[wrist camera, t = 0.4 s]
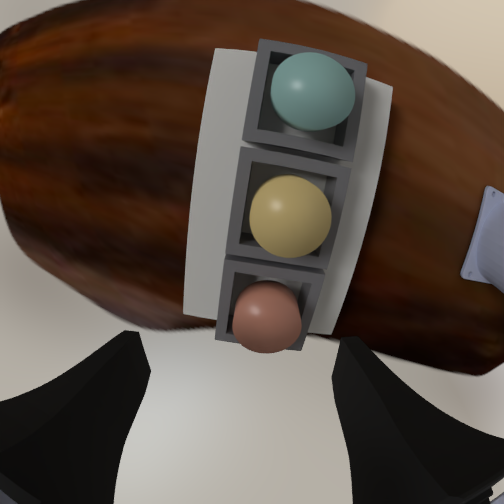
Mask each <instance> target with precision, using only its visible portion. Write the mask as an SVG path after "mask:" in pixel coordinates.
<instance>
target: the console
mask: <svg viewBox="0 0 504 504" xmlns="http://www.w3.org/2000/svg"><path fill="white" fill-rule="evenodd" d="M305 52H312V53H319V54H323V55H326V56H328V57H330V58H332V59H334V60H335V61H337V62H338V63H340V64H341V65H342V66H343V67H344V68H345V70H346V71H347V72H348V74H349V75H350V77H351V79H352V81H353V84H354V88H355V102H354V106H353V108H352V110H351V112H350V114H349V115H348V116H347V118H345V119H344V120H343V121H342V122H341V123H339V124H337V125H335V126H333V127H330V128H327V129H324V130H320V131H316V132H303V131H299V130H296V129H293V128H291V127H289V126H288V125H286V124H285V123H284V122H282V121H281V120H280V119H279V117H278V116H277V115H276V113H275V112H274V110H273V107H272V104H271V100H270V92H271V85H272V79H273V76H274V73H275V71H276V69H277V68H278V66H279V65H280V64H281V63H282V62H283V61H284V60H286V59H287V58H289V57H291V56H293V55H296V54H299V53H305ZM366 72H367V64H366V63H363V62H360V61H357V60H354V59H351V58H347V57H344V56H341V55H337V54H333V53H330V52H326V51H322V50H318V49H314V48H309V47H305V46H300V45H295V44H290V43H284V42H278V41H272V40H265V39H260V40H259V45H258V50H257V52H252V51H243V50H233V49H218V48H215V53H214V58H213V62H212V67H211V72H210V77H209V82H208V87H207V93H206V98H205V104H204V110H203V116H202V122H201V128H200V135H199V142H198V148H197V156H196V163H195V171H194V179H193V188H192V197H191V206H190V216H189V227H188V239H187V252H186V267H185V285H184V308H183V314H187V315H192V316H198V317H203V318H209V319H215V320H217V324H216V333H215V340H221V341H227V342H233V343H239V342H238V341H237V339H236V338H235V336H234V333H233V328H232V325H233V318H234V312H235V305H236V300H237V298H238V295H239V294H240V292H241V291H242V290H243V289H244V288H245V287H247V286H248V285H250V284H252V283H254V282H257V281H262V280H273V281H277V282H280V283H282V284H284V285H286V286H287V287H289V288H290V289H291V290H292V292H293V293H294V295H295V297H296V299H297V303H298V308H299V313H300V318H301V324H302V327H301V332H300V335H299V337H298V338H297V340H296V341H295V342H294V343H293V344H292V345H291V346H289V347H288V348H286V350H297V351H301V350H302V347H303V344H304V341H305V338H306V335H307V332H309V333H319V334H330V335H331V334H332V331H333V329H334V326H335V324H336V321H337V318H338V316H339V313H340V310H341V307H342V305H343V302H344V299H345V296H346V293H347V290H348V287H349V284H350V281H351V278H352V275H353V272H354V269H355V266H356V262H357V259H358V256H359V252H360V249H361V246H362V242H363V239H364V235H365V231H366V228H367V224H368V220H369V216H370V212H371V208H372V204H373V200H374V196H375V191H376V187H377V182H378V178H379V173H380V168H381V163H382V158H383V152H384V147H385V141H386V135H387V128H388V122H389V114H390V107H391V98H392V89H393V87H391V86H389V85H386V84H383V83H381V82H378V81H375V80H373V79H370V78H367V77H366ZM281 174H293V175H297V176H300V177H303V178H304V179H306V180H308V181H309V182H311V183H312V184H314V185H315V186H316V187H318V188H319V189H320V190H321V191H322V192H323V194H324V195H325V196H326V198H327V200H328V202H329V205H330V209H331V216H332V217H331V226H330V230H329V232H328V235H327V237H326V238H325V240H324V241H323V242H322V244H321V245H320V246H319V247H318V248H316V249H315V250H314V251H312V252H311V253H309V254H306V255H304V256H301V257H296V258H284V257H279V256H276V255H273V254H271V253H269V252H268V251H266V250H265V249H264V248H263V247H261V246H260V244H259V243H258V242H257V241H256V239H255V238H254V236H253V233H252V231H251V227H250V210H251V204H252V200H253V197H254V194H255V193H256V191H257V189H258V188H259V187H260V186H261V185H262V183H264V182H265V181H266V180H268V179H269V178H271V177H274V176H277V175H281Z"/></svg>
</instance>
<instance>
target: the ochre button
mask: <svg viewBox="0 0 504 504" xmlns="http://www.w3.org/2000/svg"><path fill="white" fill-rule="evenodd" d="M331 217H332V216H331V209H330V205H329V202H328V200H327V198H326V196H325V195H324V194H323V192H322V191H321V190H320V189H319V188H318V187H316V186H315V185H314V184H312V183H311V182H309V181H308V180H306V179H304V178H303V177H300V176H297V175H293V174H281V175H277V176H274V177H271V178H269V179H268V180H266V181H265V182H264V183H262V185H261V186H260V187H259V188H258V189H257V191H256V193H255V194H254V197H253V200H252V204H251V210H250V227H251V231H252V233H253V236H254V238H255V239H256V241H257V242H258V243H259V244H260V246H261V247H263V248H264V249H265V250H266V251H268V252H269V253H271V254H273V255H276V256H279V257H284V258H296V257H301V256H304V255H306V254H309V253H311V252H312V251H314V250H315V249H316V248H318V247H319V246H320V245H321V244H322V242H323V241H324V240H325V238H326V237H327V235H328V232H329V230H330V226H331Z"/></svg>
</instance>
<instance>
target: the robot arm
mask: <svg viewBox="0 0 504 504" xmlns="http://www.w3.org/2000/svg"><path fill="white" fill-rule="evenodd" d="M492 193H493V194H492ZM468 273H469V274H468ZM460 275H461V277H462V278H464V279H468V280H474V281H479V282H484V283H489V284H493V285H494V286H495V287H497V288H498V289H499V290H500V291H501V292H503V293H504V194H503V193H501V192H500V191H498V190H496V189H495V188H493V187H491V186H486V188H485V191H484V195H483V200H482V204H481V208H480V212H479V216H478V220H477V224H476V227H475V231H474V234H473V237H472V241H471V244H470V247H469V250H468V253H467V256H466V259H465V261H464V264H463V267H462V270H461V273H460ZM150 373H151V369H150V366H149V363H148V360H147V357H146V354H145V351H144V348H143V345H142V341H141V338H140V334H139V332H135V331H126V330H125V331H123V332H121V333H120V334H118V335H117V336H115V337H114V338H113V339H111V340H110V341H109V342H107V343H106V344H105V345H103V346H102V347H101V348H99V349H98V350H96V351H95V352H94V353H92V354H91V355H90V356H88V357H87V358H85V359H84V360H83V361H81V362H80V363H78V364H77V365H76V366H74V367H72V368H71V369H69V370H68V371H66V372H65V373H63V374H62V375H60V376H58V377H57V378H55V379H53V380H52V381H49V382H48V383H46V384H44V385H42V386H40V387H38V388H36V389H33V390H31V391H29V392H26V393H24V394H21V395H19V396H16V397H14V398H11V399H7V400H4V401H0V504H113V503H114V493H115V486H116V479H117V473H118V468H119V463H120V459H121V455H122V451H123V447H124V444H125V441H126V438H127V435H128V433H129V431H130V428H131V426H132V423H133V421H134V419H135V416H136V414H137V411H138V409H139V407H140V404H141V402H142V400H143V397H144V395H145V392H146V388H147V385H148V381H149V377H150ZM332 384H333V392H334V399H335V404H336V408H337V411H338V415H339V419H340V423H341V426H342V430H343V434H344V438H345V442H346V446H347V450H348V455H349V460H350V470H351V480H352V495H353V504H504V492H503V493H502V494H500V495H499V496H498V497H497V498H495V499H494V500H492V501H489V497H490V496H492V495H493V491H492V488H491V487H492V486H493V485H495V484H496V483H497V482H499V481H500V480H501V479H503V478H504V439H503V438H499V437H496V436H493V435H489V434H486V433H484V432H482V431H479V430H477V429H474V428H472V427H470V426H468V425H466V424H464V423H462V422H460V421H458V420H456V419H455V418H453V417H451V416H449V415H448V414H446V413H444V412H442V411H441V410H439V409H438V408H437V407H435V406H434V405H432V404H431V403H429V402H428V401H426V400H425V399H424V398H422V397H421V396H420V395H419V394H417V393H416V392H415V391H414V390H413V389H411V388H410V387H409V386H408V385H407V384H405V383H404V382H403V381H402V380H401V379H400V378H399V377H398V376H397V375H395V374H394V373H393V372H392V371H391V370H390V369H389V368H388V367H387V366H386V365H385V364H384V363H383V362H382V361H381V360H380V359H379V358H378V357H377V356H376V355H375V354H374V353H373V352H372V351H371V350H370V349H369V348H368V347H367V346H366V344H365V343H364V342H363V341H362V340H361V339H360V338H359V337H358V336H355V337H341V340H340V345H339V349H338V353H337V358H336V362H335V366H334V370H333V374H332Z"/></svg>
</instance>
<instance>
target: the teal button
mask: <svg viewBox="0 0 504 504" xmlns="http://www.w3.org/2000/svg"><path fill="white" fill-rule="evenodd" d="M270 100H271V104H272V107H273V110H274V112H275V113H276V115H277V116H278V117H279V119H280V120H281V121H282V122H284V123H285V124H286V125H288V126H289V127H291V128H293V129H296V130H299V131H303V132H316V131H320V130H324V129H327V128H330V127H333V126H335V125H337V124H339V123H341V122H342V121H343V120H344V119H345V118H347V116H348V115H349V114H350V112H351V110H352V108H353V106H354V102H355V88H354V84H353V81H352V79H351V77H350V75H349V74H348V72H347V71H346V70H345V68H344V67H343V66H342V65H341V64H340V63H338V62H337V61H335V60H334V59H332V58H330V57H328V56H326V55H323V54H319V53H312V52H305V53H299V54H296V55H293V56H291V57H289V58H287V59H286V60H284V61H283V62H282V63H281V64H280V65H279V66H278V68H277V69H276V71H275V73H274V76H273V79H272V85H271V92H270Z"/></svg>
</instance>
